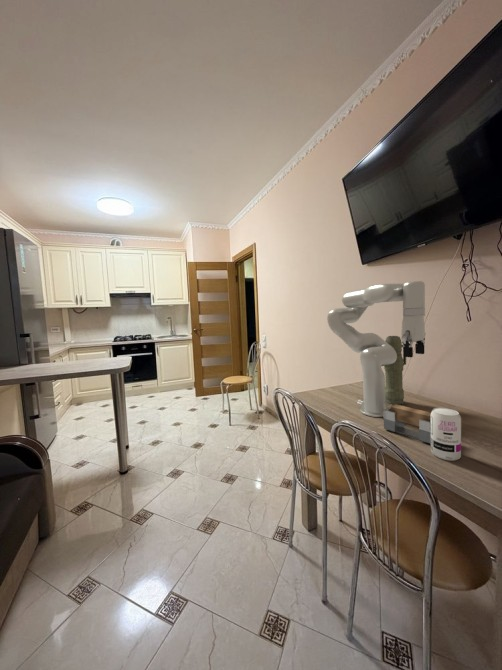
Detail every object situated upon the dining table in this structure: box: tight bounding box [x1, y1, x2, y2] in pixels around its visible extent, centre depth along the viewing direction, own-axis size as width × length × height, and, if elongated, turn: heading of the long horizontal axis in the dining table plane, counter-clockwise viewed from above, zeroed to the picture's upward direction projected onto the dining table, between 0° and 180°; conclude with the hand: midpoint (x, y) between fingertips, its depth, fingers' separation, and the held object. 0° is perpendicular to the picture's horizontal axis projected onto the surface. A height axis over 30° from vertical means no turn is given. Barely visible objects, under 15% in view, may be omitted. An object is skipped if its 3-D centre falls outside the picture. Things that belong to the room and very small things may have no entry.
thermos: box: [383, 335, 407, 406], centre depth 140 cm, size 9×12×35 cm
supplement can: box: [430, 407, 462, 462], centre depth 89 cm, size 8×8×15 cm
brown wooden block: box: [390, 404, 431, 427], centre depth 104 cm, size 14×4×5 cm, turn 35°
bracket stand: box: [383, 406, 431, 445], centre depth 105 cm, size 19×8×8 cm, turn 35°
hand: (414, 355), depth 108 cm, fingers open, 9 cm apart
